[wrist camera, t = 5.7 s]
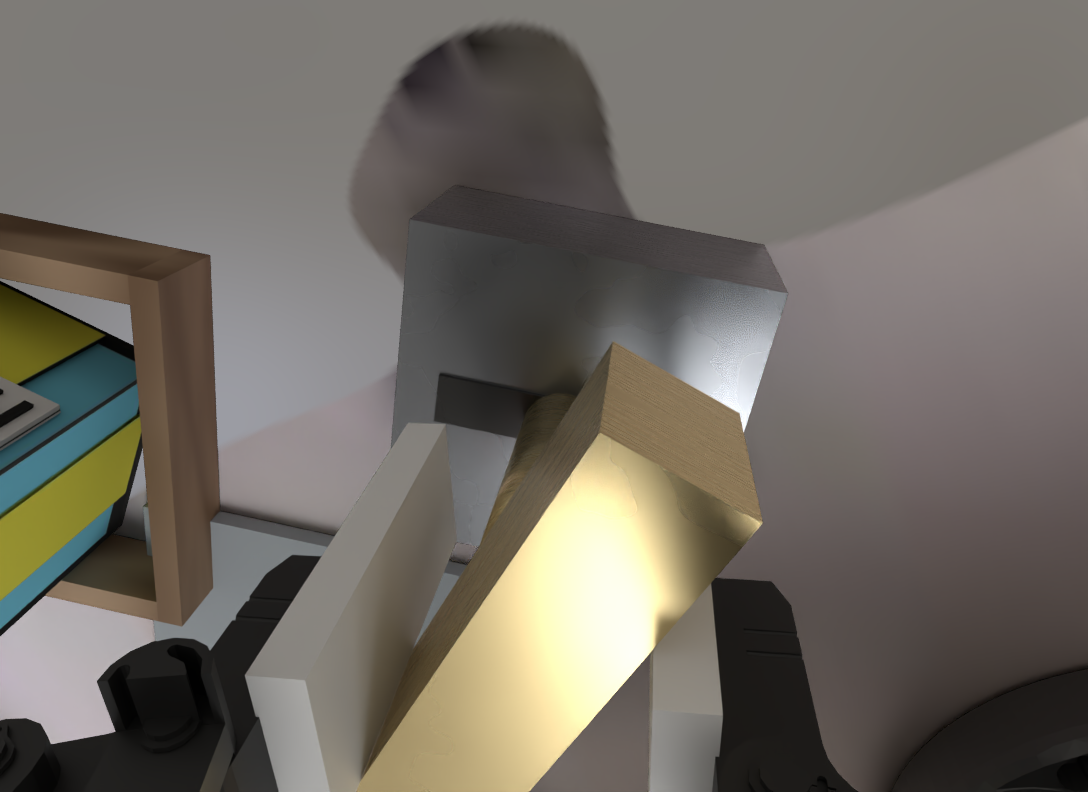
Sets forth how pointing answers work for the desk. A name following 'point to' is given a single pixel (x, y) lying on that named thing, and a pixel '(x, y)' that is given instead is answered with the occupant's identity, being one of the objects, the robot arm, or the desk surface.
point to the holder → (144, 408)
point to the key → (570, 579)
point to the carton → (59, 445)
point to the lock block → (562, 320)
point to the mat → (257, 571)
